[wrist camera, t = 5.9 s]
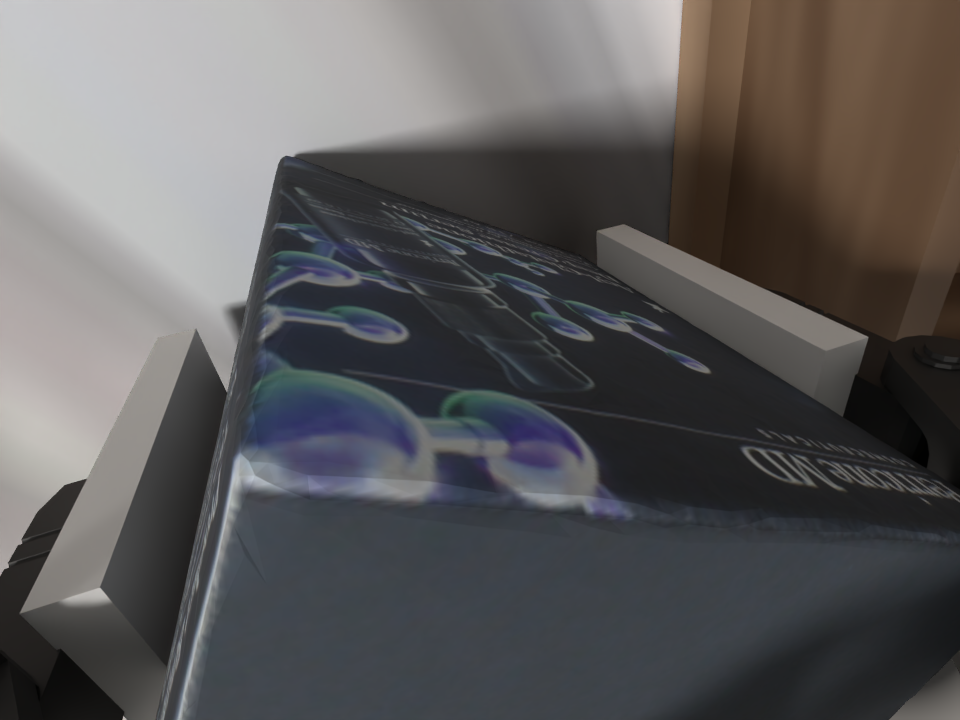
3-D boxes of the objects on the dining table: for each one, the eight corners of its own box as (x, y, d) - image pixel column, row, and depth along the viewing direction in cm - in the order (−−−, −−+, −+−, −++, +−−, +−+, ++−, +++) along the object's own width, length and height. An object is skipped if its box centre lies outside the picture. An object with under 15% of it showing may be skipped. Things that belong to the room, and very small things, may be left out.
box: (581, 249, 14) (1077, 550, 5) (504, 421, 16) (765, 850, 7) (276, 142, 11) (202, 485, 2) (226, 377, 13) (75, 1085, 4)
